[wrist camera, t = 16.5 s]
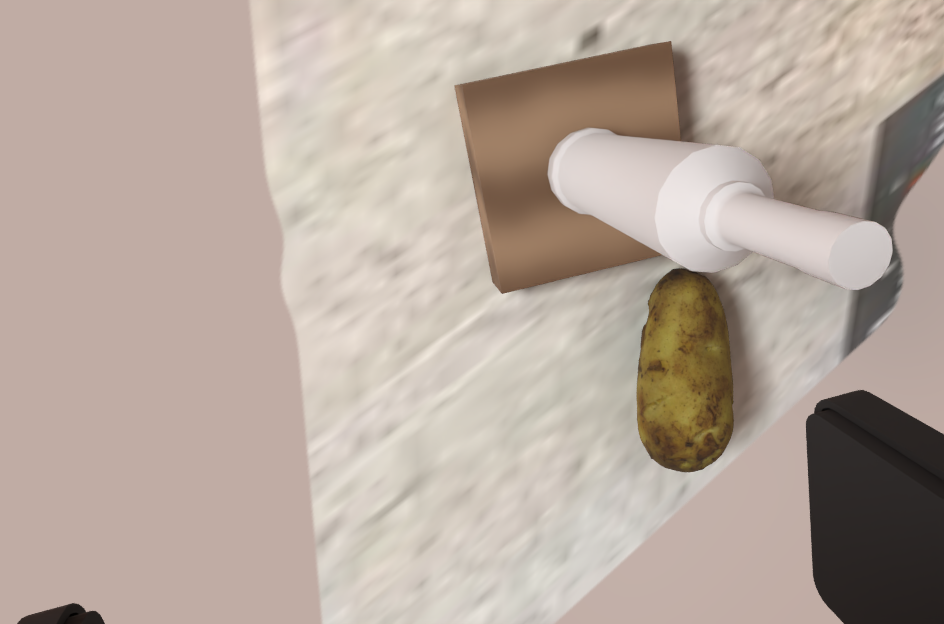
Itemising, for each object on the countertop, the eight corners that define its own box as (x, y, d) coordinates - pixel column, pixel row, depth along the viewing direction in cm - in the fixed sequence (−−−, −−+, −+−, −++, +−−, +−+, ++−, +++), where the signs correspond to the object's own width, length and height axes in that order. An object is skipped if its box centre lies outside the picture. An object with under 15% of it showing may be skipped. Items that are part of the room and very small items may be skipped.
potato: (749, 291, 52) (817, 324, 44) (672, 443, 55) (725, 499, 47) (653, 252, 50) (708, 280, 42) (578, 412, 52) (617, 466, 45)
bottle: (546, 215, 44) (773, 352, 21) (541, 130, 43) (782, 175, 19) (624, 206, 45) (930, 327, 22) (623, 122, 44) (951, 155, 20)
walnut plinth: (454, 85, 44) (462, 85, 41) (650, 44, 46) (671, 41, 43) (492, 282, 48) (502, 293, 45) (671, 239, 50) (691, 247, 47)
